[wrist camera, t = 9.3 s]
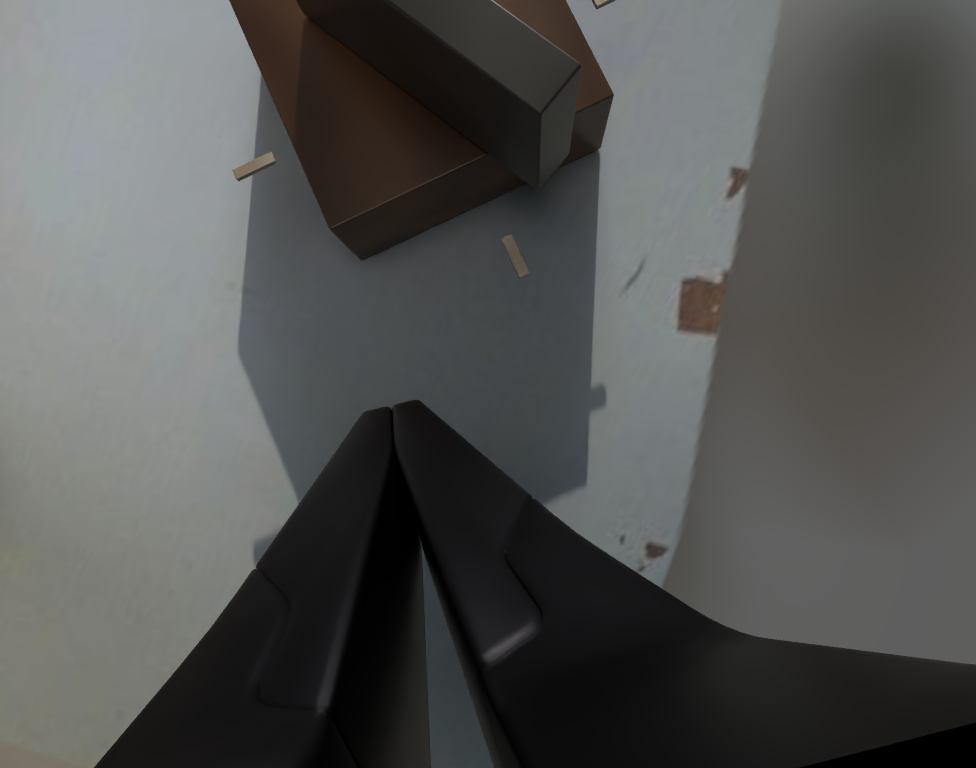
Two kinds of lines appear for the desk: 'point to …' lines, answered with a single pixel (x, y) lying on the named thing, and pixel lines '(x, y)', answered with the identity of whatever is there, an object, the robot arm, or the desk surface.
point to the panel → (394, 127)
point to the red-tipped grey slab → (469, 72)
